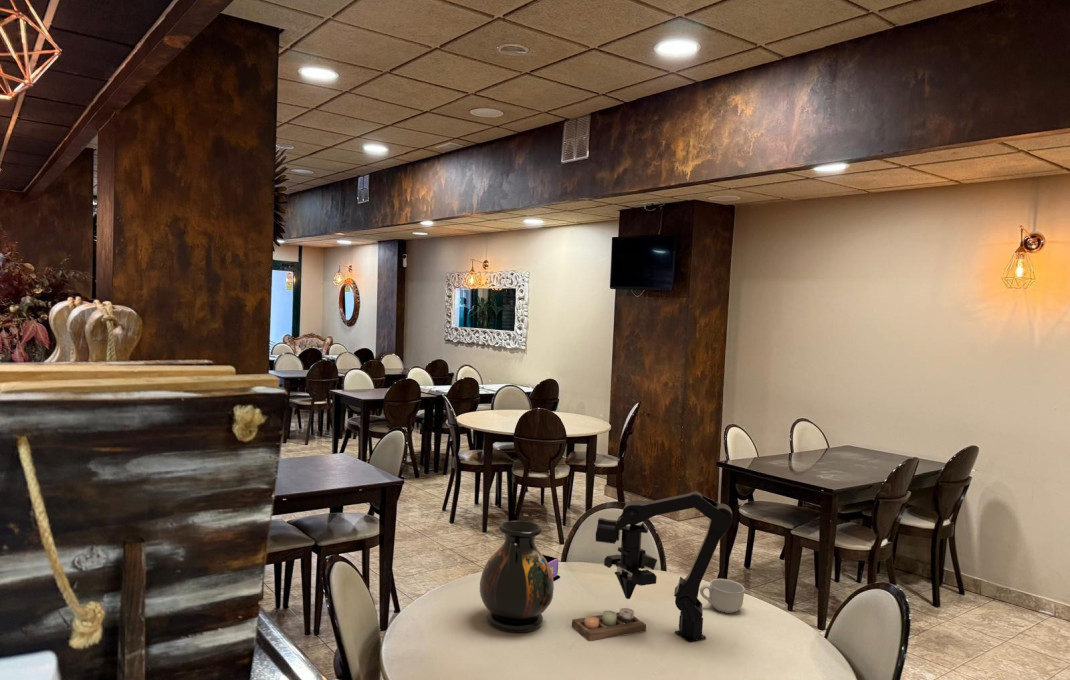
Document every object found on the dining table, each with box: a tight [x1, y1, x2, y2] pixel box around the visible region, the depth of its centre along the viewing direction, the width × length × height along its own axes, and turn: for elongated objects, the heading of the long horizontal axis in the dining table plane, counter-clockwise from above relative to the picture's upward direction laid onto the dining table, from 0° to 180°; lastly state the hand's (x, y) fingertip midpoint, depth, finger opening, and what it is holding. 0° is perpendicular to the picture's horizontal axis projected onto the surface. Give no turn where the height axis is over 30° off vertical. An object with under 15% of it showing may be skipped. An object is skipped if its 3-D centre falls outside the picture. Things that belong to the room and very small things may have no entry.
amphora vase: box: [479, 520, 555, 633], centre depth 205 cm, size 22×22×28 cm
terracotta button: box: [584, 615, 599, 629], centre depth 202 cm, size 4×4×3 cm
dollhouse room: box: [542, 554, 561, 582], centre depth 243 cm, size 12×12×7 cm
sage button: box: [602, 610, 618, 627], centre depth 204 cm, size 4×4×3 cm
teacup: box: [699, 578, 746, 614], centre depth 225 cm, size 14×11×8 cm
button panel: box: [571, 611, 647, 642], centre depth 204 cm, size 10×19×2 cm, turn 117°
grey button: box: [619, 607, 635, 624], centre depth 207 cm, size 4×4×3 cm
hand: (627, 598), depth 207 cm, fingers closed
